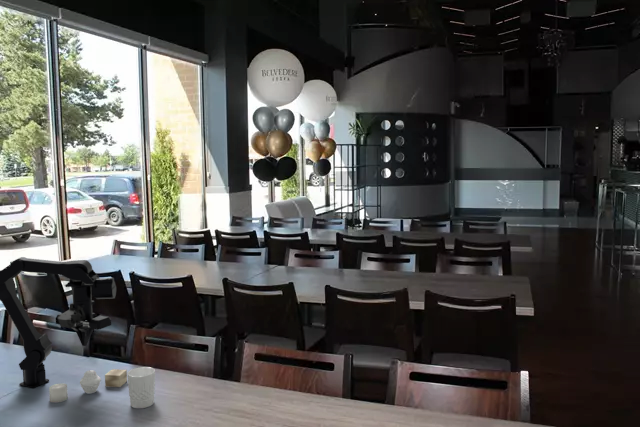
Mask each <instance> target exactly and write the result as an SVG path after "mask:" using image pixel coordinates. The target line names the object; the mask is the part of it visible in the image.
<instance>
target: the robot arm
mask: <svg viewBox="0 0 640 427" xmlns="http://www.w3.org/2000/svg"><path fill="white" fill-rule="evenodd" d="M92 265H93V264H91V263H90V261H88V260H87V259H80V260H79V259H78V260H77V259H76V260H70V261H60V260H59V261H57V260H48V259H47V260H46V259H39V258H38V259H37V258H27V257H24V256H21V257H18V258H16V259H15V260H13V261H12V263H10V264H9V265H7V266H6V267H4V268H3V269H1V270H0V302H1V304H2V306H3V307H4V308H5V310H6V312H7V314H8V316H9V317H10V319H11V321H12V323H13V324H14V326H15V327H16V330H17V332H18V334H19V335H20V337H21V339H22V343H23V350H24V354H25V357H24V358H23V359H22V360H21V362H19V363H18V367H19V369H20V370H21V371H22V379H23V381H21V382H20V383H19V386H20V387H21V386H22V387H27V388H31V389H35V388H37V387H39V386H41V385H44V384H46V383H48V382H50V379H48V378H46V377H47V376H46V369H45V367H46V366H45V364H44V362H45V361H46V359H47V358H48V356H49V355H50V354H51V353H52V350H53V348H52V344H53V342H52V341H51V340H50V339H49V336H48V334H47V333H44V334H41V333H40V332H38V331H37V330H38V329H36V327H35V325H34V323H33V321H32V320H31V318H30V316H29V314H28V312H27V311H26V309H25V307H24V306H23V304H22V302H21V300H20V298H19V295H18V294H17V288H16V286H17V285H16V282H15V279H14V278H16V277H17V276H18V275H20V274H21V273H22V272H30V273H39V274H49V275H58V276H62V277H64V278H65V279H69V281H68V282H67V283H66V284H65V285H64V286H65V287H66V288H72V302H71V303H69V307H68V310H66V311H64V312H61V313H59V314H57V315H56V316H55V324H56V325H60V327H61V328H68V329H72V330H74V332H76V334H77V338H78V340H79V342H80V343H81V346H82V347H86V346H87V344H88V343H89V340H90V339H91V336H92V334H93V332H94V330H98V331H99V330H102V329H104V328H107V327H110V326H112V318H111V317H110V316H103V315H100V316H97V317H96V313H95V312H93V305H96V301H95V300H92V297H93V298H95V299H96V300H105V299H109V300H110V299H116V295H117V285H116V281H115V278H114V277H107V278H100V276H99V275H98V274H97V272H96V271H94V269H93V266H92Z"/></svg>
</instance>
